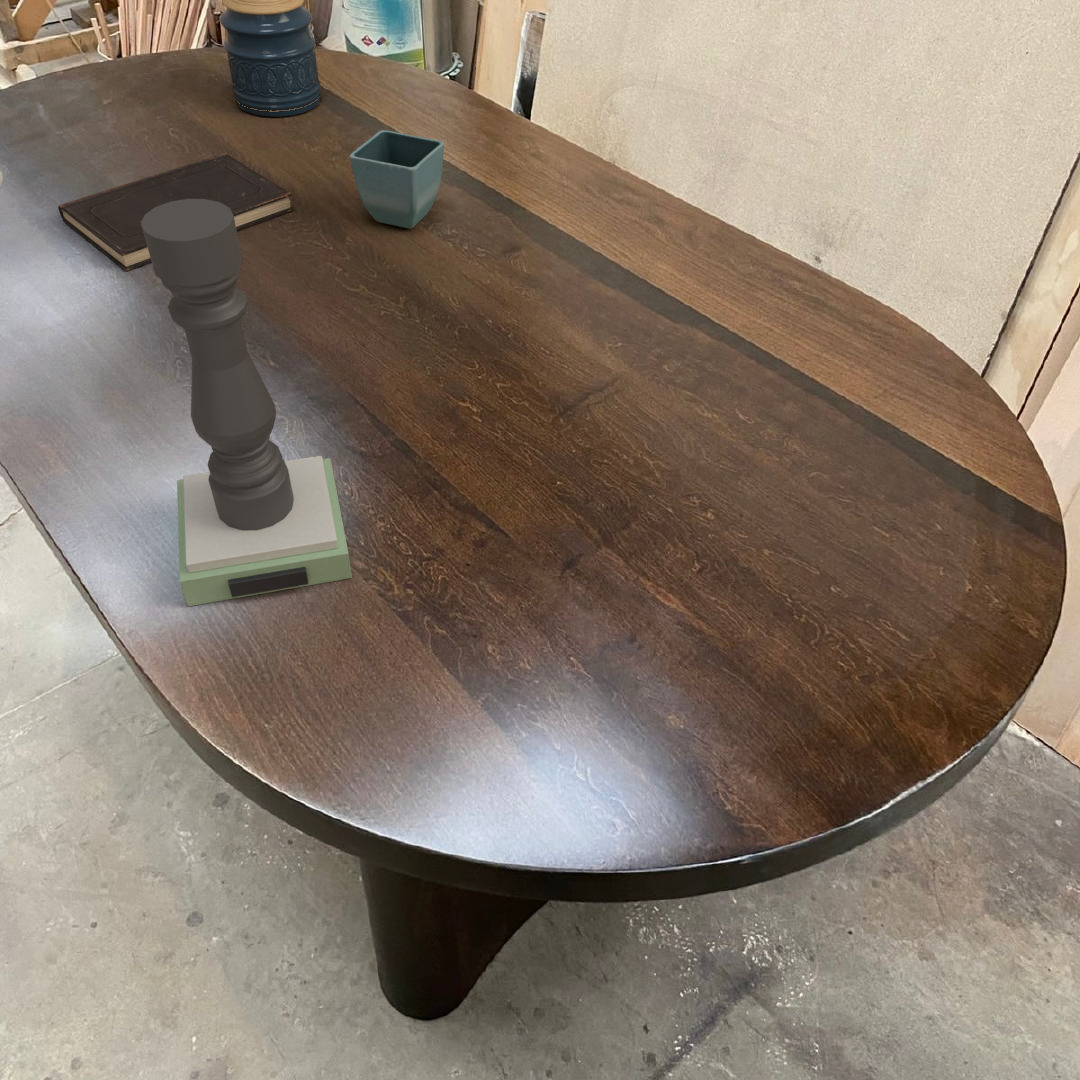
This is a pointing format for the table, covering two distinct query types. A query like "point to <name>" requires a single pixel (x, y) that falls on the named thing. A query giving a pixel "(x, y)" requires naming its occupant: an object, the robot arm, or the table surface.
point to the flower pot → (398, 176)
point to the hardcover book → (122, 209)
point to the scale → (262, 540)
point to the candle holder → (220, 359)
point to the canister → (271, 56)
